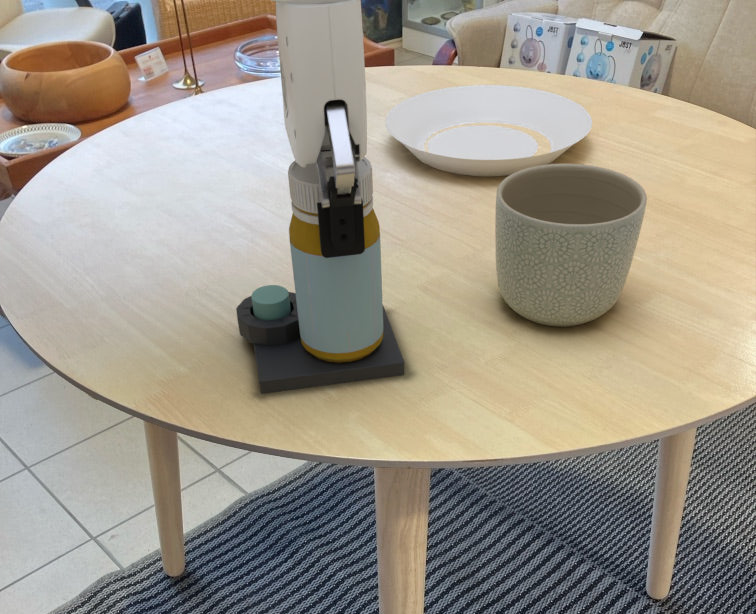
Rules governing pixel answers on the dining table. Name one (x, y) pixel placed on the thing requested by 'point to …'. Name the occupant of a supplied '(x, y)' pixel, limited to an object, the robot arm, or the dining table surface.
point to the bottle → (335, 274)
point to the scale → (309, 354)
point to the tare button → (271, 302)
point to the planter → (566, 240)
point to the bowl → (486, 127)
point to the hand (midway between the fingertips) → (334, 228)
